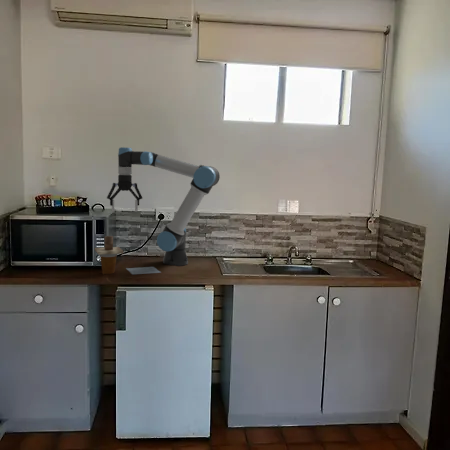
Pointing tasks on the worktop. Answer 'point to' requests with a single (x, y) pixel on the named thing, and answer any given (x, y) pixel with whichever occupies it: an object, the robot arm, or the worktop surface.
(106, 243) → the lid
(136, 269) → the mat
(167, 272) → the worktop surface
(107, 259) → the disposable coffee cup
